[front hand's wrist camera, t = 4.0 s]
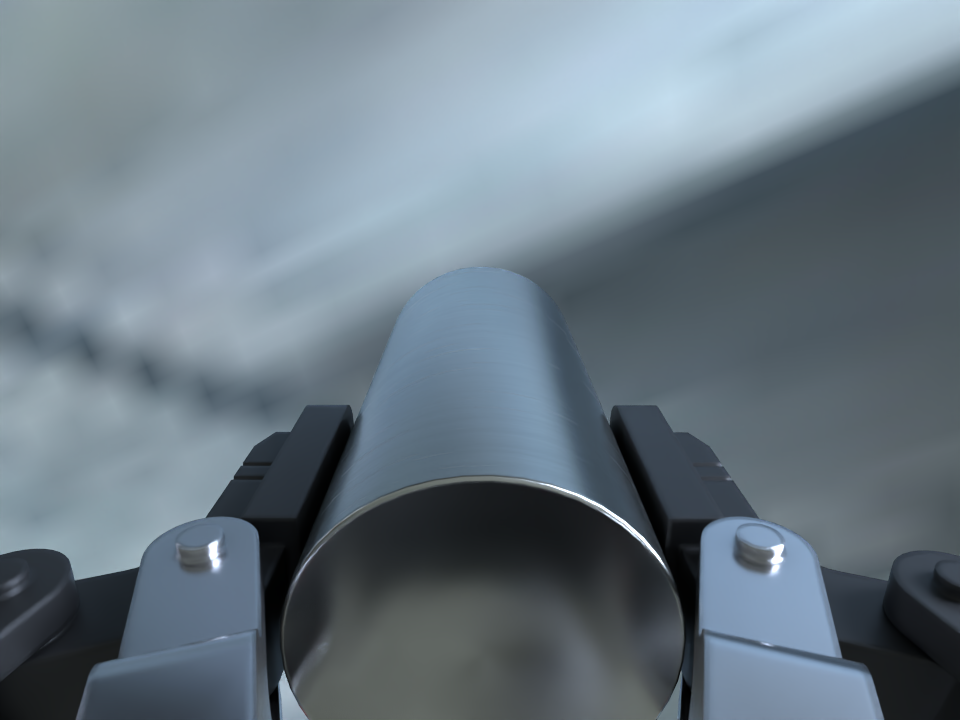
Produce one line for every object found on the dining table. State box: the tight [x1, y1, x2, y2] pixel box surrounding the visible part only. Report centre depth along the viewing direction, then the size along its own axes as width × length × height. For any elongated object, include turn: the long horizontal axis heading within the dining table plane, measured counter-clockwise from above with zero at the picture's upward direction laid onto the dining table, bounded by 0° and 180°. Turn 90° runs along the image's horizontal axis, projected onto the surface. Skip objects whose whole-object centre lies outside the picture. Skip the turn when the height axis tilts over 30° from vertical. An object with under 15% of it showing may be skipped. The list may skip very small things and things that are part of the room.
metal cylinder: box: [280, 267, 686, 720], centre depth 12 cm, size 5×5×10 cm
